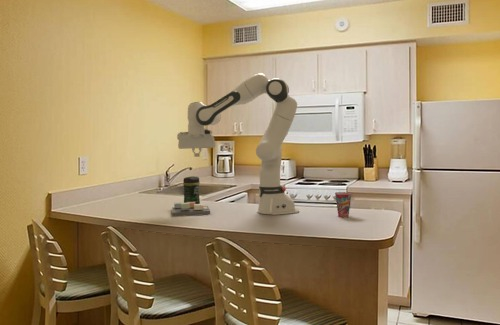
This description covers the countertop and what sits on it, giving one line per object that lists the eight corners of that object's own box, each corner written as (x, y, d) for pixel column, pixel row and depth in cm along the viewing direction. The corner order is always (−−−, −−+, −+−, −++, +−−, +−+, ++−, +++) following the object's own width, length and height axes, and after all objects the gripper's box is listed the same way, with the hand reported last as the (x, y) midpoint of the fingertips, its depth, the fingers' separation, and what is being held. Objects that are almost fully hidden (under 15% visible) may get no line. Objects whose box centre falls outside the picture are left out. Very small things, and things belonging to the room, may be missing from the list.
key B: (189, 207, 241) (189, 202, 241) (189, 208, 237) (189, 203, 237) (181, 207, 240) (180, 202, 240) (181, 208, 236) (181, 204, 236)
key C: (195, 206, 251) (194, 201, 251) (195, 207, 246) (195, 202, 246) (187, 206, 250) (186, 202, 250) (187, 207, 246) (187, 203, 245)
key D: (182, 206, 250) (182, 202, 249) (182, 207, 245) (182, 203, 245) (174, 207, 249) (174, 202, 249) (174, 208, 244) (174, 203, 244)
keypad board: (207, 209, 254) (207, 205, 254) (210, 214, 237) (210, 210, 237) (172, 210, 251) (172, 206, 251) (172, 216, 233) (172, 212, 233)
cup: (339, 218, 218) (339, 194, 217) (332, 215, 226) (331, 192, 226) (356, 217, 221) (356, 193, 220) (348, 214, 229) (348, 191, 228)
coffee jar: (192, 209, 254) (191, 177, 252) (181, 208, 258) (180, 177, 257) (202, 207, 262) (201, 176, 261) (192, 206, 266) (191, 175, 265)
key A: (202, 208, 243) (202, 203, 242) (202, 209, 238) (202, 205, 238) (194, 208, 242) (193, 204, 242) (194, 210, 237) (194, 205, 237)
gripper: (177, 132, 240) (178, 157, 241) (214, 131, 243) (215, 156, 244) (177, 132, 246) (178, 157, 247) (213, 131, 250) (214, 155, 251)
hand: (197, 156), depth 246 cm, fingers closed
